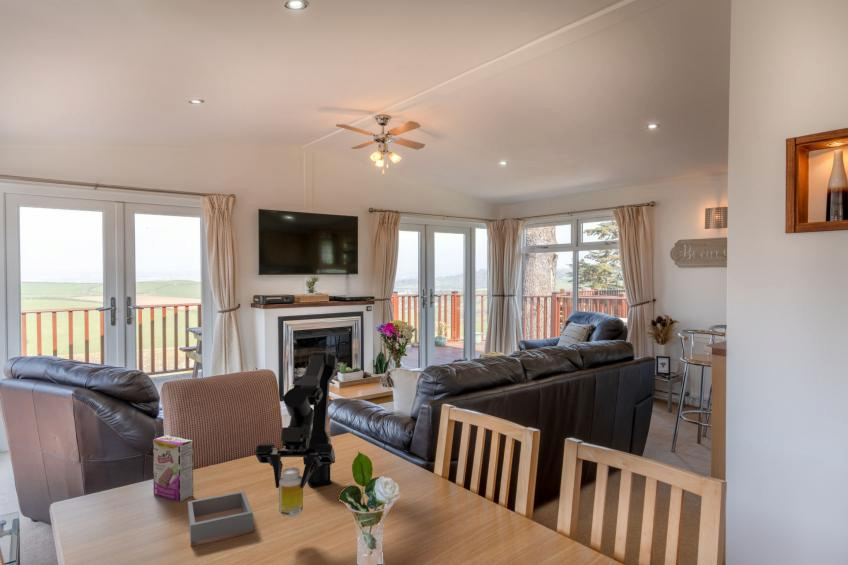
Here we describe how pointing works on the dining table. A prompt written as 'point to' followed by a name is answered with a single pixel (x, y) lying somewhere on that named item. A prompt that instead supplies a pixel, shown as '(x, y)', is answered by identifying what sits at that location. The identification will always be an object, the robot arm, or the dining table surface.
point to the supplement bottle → (290, 493)
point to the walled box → (219, 518)
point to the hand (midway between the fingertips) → (289, 487)
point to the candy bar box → (173, 467)
